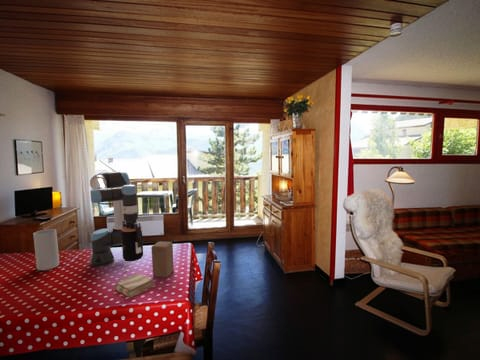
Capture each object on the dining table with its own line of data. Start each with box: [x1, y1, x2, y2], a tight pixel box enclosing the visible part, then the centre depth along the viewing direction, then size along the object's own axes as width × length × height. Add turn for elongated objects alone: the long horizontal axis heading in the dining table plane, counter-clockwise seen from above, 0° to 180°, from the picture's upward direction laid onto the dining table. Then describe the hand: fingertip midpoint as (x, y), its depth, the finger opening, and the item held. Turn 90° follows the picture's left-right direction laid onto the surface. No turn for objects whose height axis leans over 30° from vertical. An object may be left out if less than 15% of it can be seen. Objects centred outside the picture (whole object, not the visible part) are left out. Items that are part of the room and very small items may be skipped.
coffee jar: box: [121, 225, 144, 263], centre depth 143 cm, size 11×11×18 cm
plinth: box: [115, 272, 155, 298], centre depth 146 cm, size 15×15×4 cm
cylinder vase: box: [32, 228, 60, 271], centre depth 174 cm, size 12×12×25 cm
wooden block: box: [151, 240, 175, 278], centre depth 161 cm, size 10×10×20 cm
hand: (132, 250), depth 144 cm, fingers closed on coffee jar, 11 cm apart
